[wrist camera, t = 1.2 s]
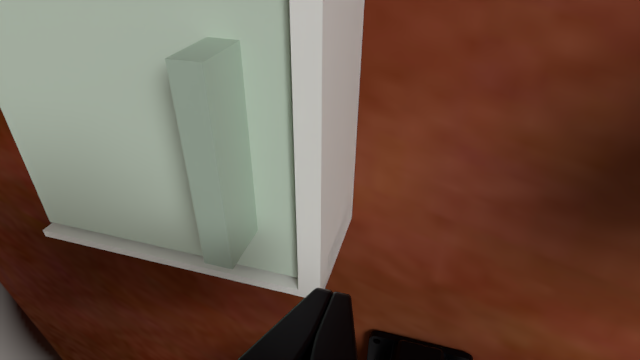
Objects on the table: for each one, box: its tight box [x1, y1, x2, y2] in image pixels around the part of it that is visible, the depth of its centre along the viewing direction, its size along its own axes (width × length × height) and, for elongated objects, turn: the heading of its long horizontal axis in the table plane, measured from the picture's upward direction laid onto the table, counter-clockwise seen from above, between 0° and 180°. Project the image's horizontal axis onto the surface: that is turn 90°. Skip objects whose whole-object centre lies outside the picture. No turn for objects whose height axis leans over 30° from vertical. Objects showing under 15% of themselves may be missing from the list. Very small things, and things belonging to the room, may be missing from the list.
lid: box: [0, 0, 298, 277], centre depth 17 cm, size 13×14×3 cm
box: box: [43, 0, 364, 297], centre depth 19 cm, size 14×15×6 cm
